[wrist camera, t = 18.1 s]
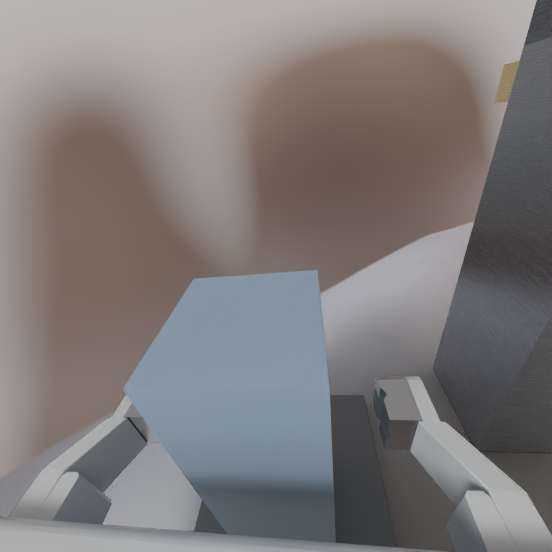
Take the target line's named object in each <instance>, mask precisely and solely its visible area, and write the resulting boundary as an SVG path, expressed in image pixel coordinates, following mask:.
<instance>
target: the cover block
mask: <svg viewBox="0 0 552 552" xmlns="http://www.w3.org/2000/svg"><path fill="white" fill-rule="evenodd" d="M123 391H124V392H125V394H126V395H127V396H128V398H129V399H130V400H131V402H132V403H133V405H134V406H135V407H136V409H137V410H138V411H139V413H140V414H141V416H142V417H143V418H144V420H145V421H146V423H147V424H148V425H149V427H150V428H151V429H152V431H153V432H154V434H155V435H156V436H157V438H158V439H159V440H160V442H161V443H162V445H163V446H164V447H165V449H166V450H167V452H168V453H169V454H170V456H171V457H172V458H173V460H174V461H175V463H176V464H177V465H178V467H179V468H180V470H181V471H182V472H183V474H184V475H185V476H186V478H187V479H188V481H189V482H190V483H191V485H192V486H193V487H194V489H195V490H196V492H197V493H198V494H199V496H200V497H201V499H202V500H203V501H204V503H205V504H206V505H207V507H208V508H209V510H210V511H211V512H212V514H213V515H214V516H215V518H216V519H217V521H218V522H219V523H220V525H221V526H222V528H223V529H224V530H225V532H226V533H227V534H231V535H244V536H256V537H269V538H282V539H295V540H308V541H320V542H333V543H336V536H335V510H334V485H333V460H332V435H331V409H330V386H329V377H328V367H327V357H326V347H325V338H324V328H323V318H322V309H321V299H320V290H319V279H318V270H309V271H296V272H281V273H267V274H253V275H239V276H226V277H212V278H197V279H193V281H192V283H191V284H190V286H189V287H188V289H187V290H186V292H185V293H184V295H183V296H182V298H181V300H180V301H179V303H178V304H177V306H176V307H175V309H174V310H173V312H172V313H171V315H170V317H169V318H168V320H167V321H166V323H165V324H164V326H163V327H162V329H161V330H160V332H159V334H158V335H157V337H156V338H155V340H154V341H153V343H152V344H151V346H150V348H149V349H148V351H147V352H146V354H145V355H144V357H143V358H142V360H141V361H140V363H139V364H138V366H137V368H136V369H135V371H134V372H133V374H132V375H131V377H130V378H129V380H128V381H127V383H126V385H125V386H124V388H123Z"/></svg>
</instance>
